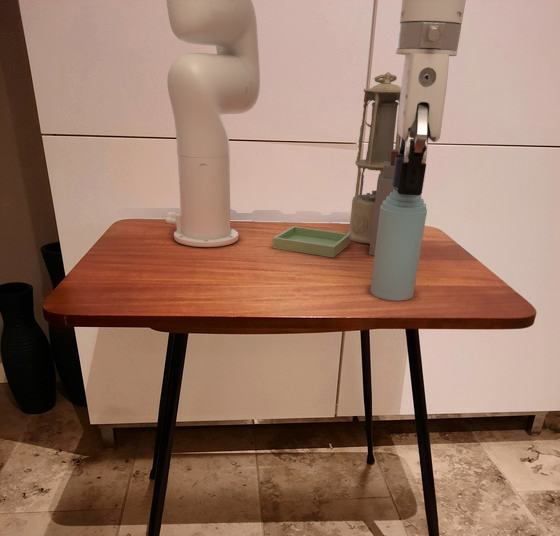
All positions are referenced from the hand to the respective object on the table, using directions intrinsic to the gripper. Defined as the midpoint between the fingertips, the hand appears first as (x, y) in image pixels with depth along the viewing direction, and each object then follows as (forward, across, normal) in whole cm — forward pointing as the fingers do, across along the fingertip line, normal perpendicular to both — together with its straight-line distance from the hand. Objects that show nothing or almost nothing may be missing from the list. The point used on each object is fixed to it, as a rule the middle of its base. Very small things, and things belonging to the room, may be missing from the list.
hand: (406, 188), depth 77 cm
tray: (+16, +23, +14) cm, 31 cm away
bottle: (+16, 0, 0) cm, 16 cm away
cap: (0, 0, 0) cm, 0 cm away
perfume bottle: (+16, +23, -1) cm, 28 cm away
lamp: (+16, +33, +2) cm, 37 cm away
